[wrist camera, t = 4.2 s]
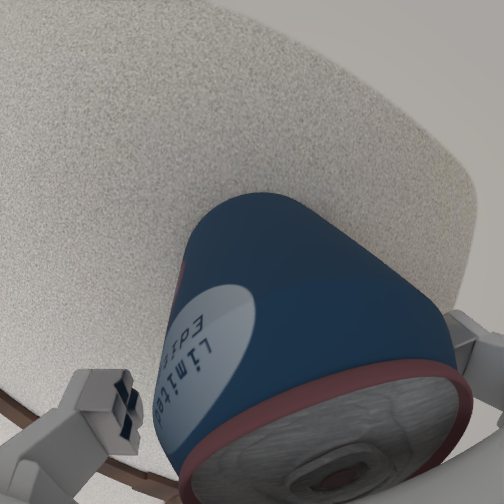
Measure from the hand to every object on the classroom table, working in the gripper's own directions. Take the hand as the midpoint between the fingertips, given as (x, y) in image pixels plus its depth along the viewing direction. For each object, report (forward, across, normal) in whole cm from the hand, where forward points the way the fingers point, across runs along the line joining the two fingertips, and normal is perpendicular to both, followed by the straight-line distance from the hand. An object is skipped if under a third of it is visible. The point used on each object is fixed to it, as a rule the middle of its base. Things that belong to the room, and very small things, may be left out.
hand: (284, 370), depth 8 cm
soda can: (+8, 0, 0) cm, 8 cm away
